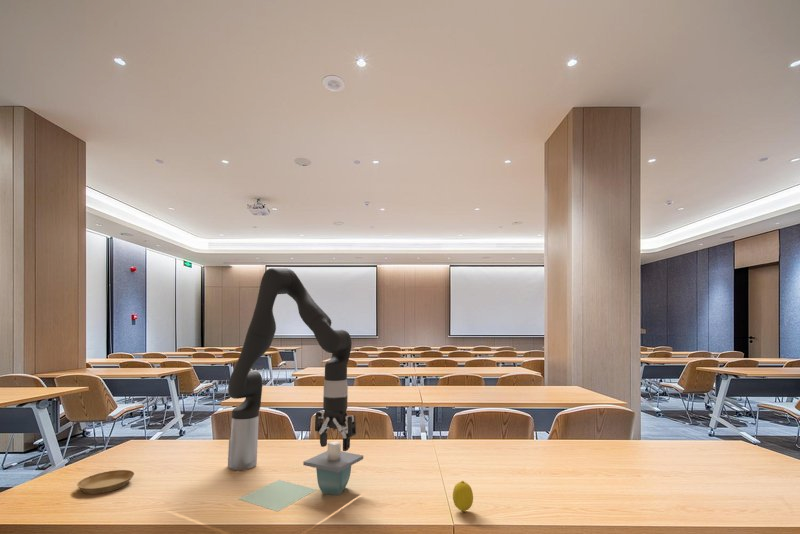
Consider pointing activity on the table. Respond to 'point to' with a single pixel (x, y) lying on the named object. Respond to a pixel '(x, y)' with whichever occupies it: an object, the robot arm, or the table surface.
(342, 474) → the flower pot
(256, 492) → the mat
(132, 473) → the plant saucer
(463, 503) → the lemon
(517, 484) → the table surface
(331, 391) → the robot arm
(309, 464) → the lid
